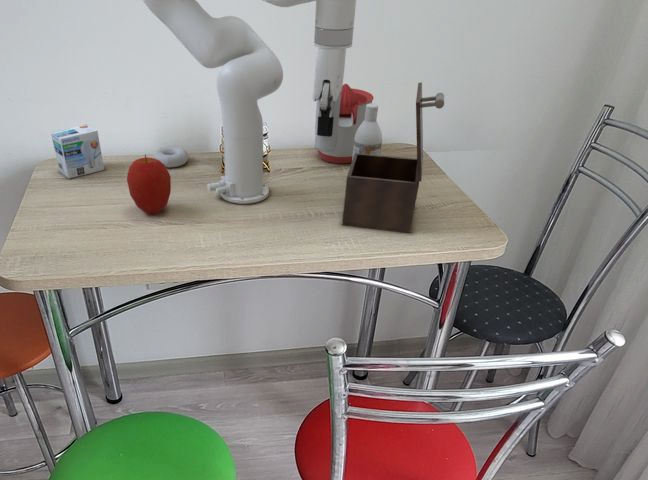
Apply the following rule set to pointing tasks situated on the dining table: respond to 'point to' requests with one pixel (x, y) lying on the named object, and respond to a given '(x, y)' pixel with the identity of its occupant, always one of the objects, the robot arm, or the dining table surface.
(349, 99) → the citrus juicer
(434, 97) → the lid
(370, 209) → the chest
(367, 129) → the bath foam
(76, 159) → the light bulb box
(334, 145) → the beverage can
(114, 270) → the dining table surface
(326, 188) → the dining table surface
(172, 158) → the donut
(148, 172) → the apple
